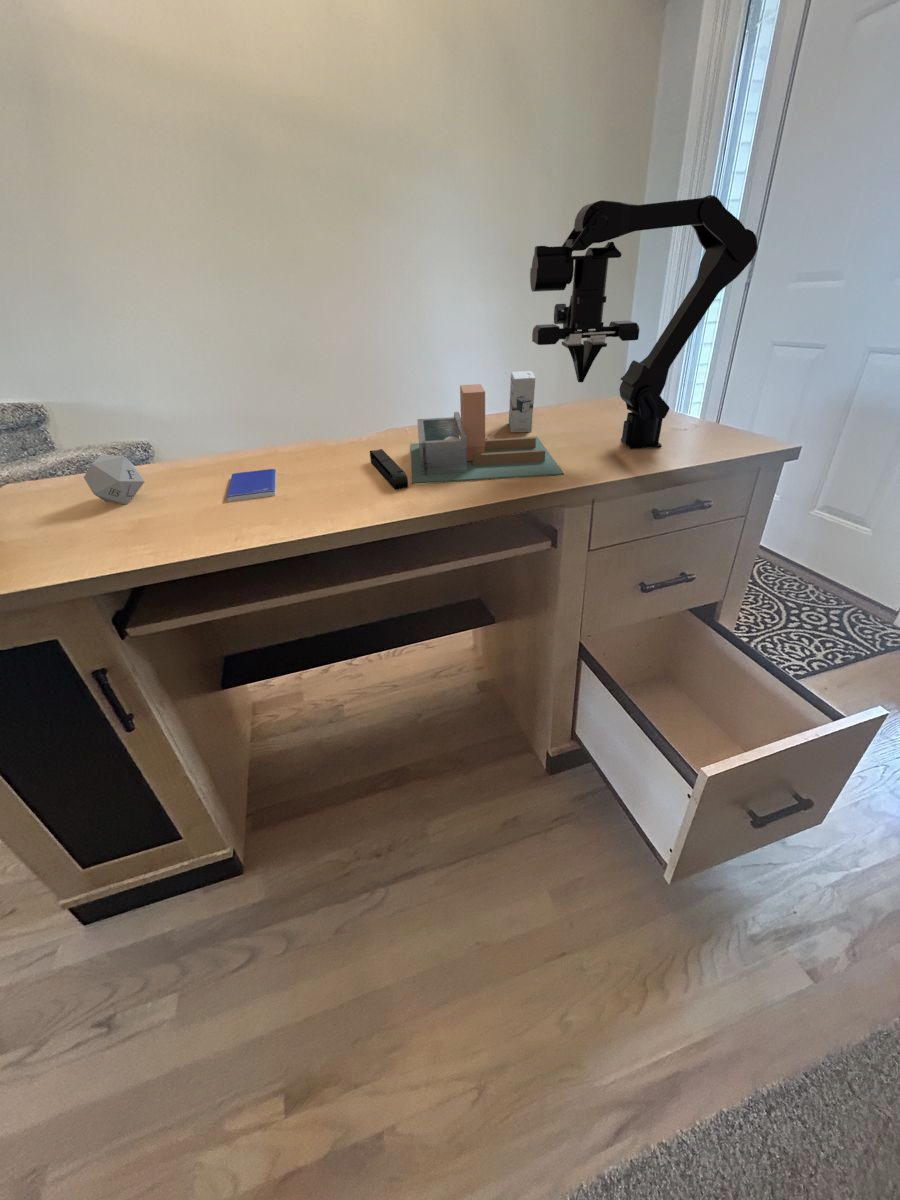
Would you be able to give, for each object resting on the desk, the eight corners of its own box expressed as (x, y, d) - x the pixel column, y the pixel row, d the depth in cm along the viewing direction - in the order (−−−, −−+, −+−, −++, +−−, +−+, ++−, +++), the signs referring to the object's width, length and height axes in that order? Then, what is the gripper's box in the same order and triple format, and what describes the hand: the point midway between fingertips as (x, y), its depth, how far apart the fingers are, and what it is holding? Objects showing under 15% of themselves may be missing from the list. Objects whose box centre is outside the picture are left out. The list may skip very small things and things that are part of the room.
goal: (459, 445, 114) (458, 411, 110) (467, 472, 99) (466, 435, 96) (419, 447, 113) (416, 414, 110) (421, 475, 99) (418, 437, 95)
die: (99, 517, 90) (119, 470, 87) (66, 486, 92) (84, 439, 88) (141, 515, 98) (160, 472, 95) (110, 487, 99) (128, 443, 96)
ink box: (508, 423, 129) (509, 371, 122) (529, 422, 128) (531, 370, 122) (511, 433, 121) (512, 378, 115) (533, 432, 121) (536, 377, 115)
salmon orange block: (480, 450, 110) (480, 384, 102) (485, 461, 104) (485, 391, 97) (461, 451, 109) (460, 385, 102) (464, 462, 103) (463, 392, 96)
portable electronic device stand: (409, 490, 95) (407, 474, 93) (395, 492, 94) (393, 476, 92) (382, 461, 109) (380, 447, 107) (370, 463, 108) (368, 448, 106)
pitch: (536, 437, 117) (537, 427, 116) (563, 474, 97) (564, 462, 96) (410, 445, 116) (410, 434, 115) (411, 484, 96) (410, 471, 95)
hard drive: (274, 489, 94) (275, 468, 104) (225, 495, 92) (231, 473, 102) (276, 498, 94) (276, 475, 105) (228, 504, 93) (233, 481, 103)
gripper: (624, 285, 102) (613, 372, 110) (528, 289, 101) (525, 376, 109) (646, 287, 92) (633, 382, 101) (540, 292, 92) (536, 387, 100)
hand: (580, 382), depth 103 cm, fingers closed
